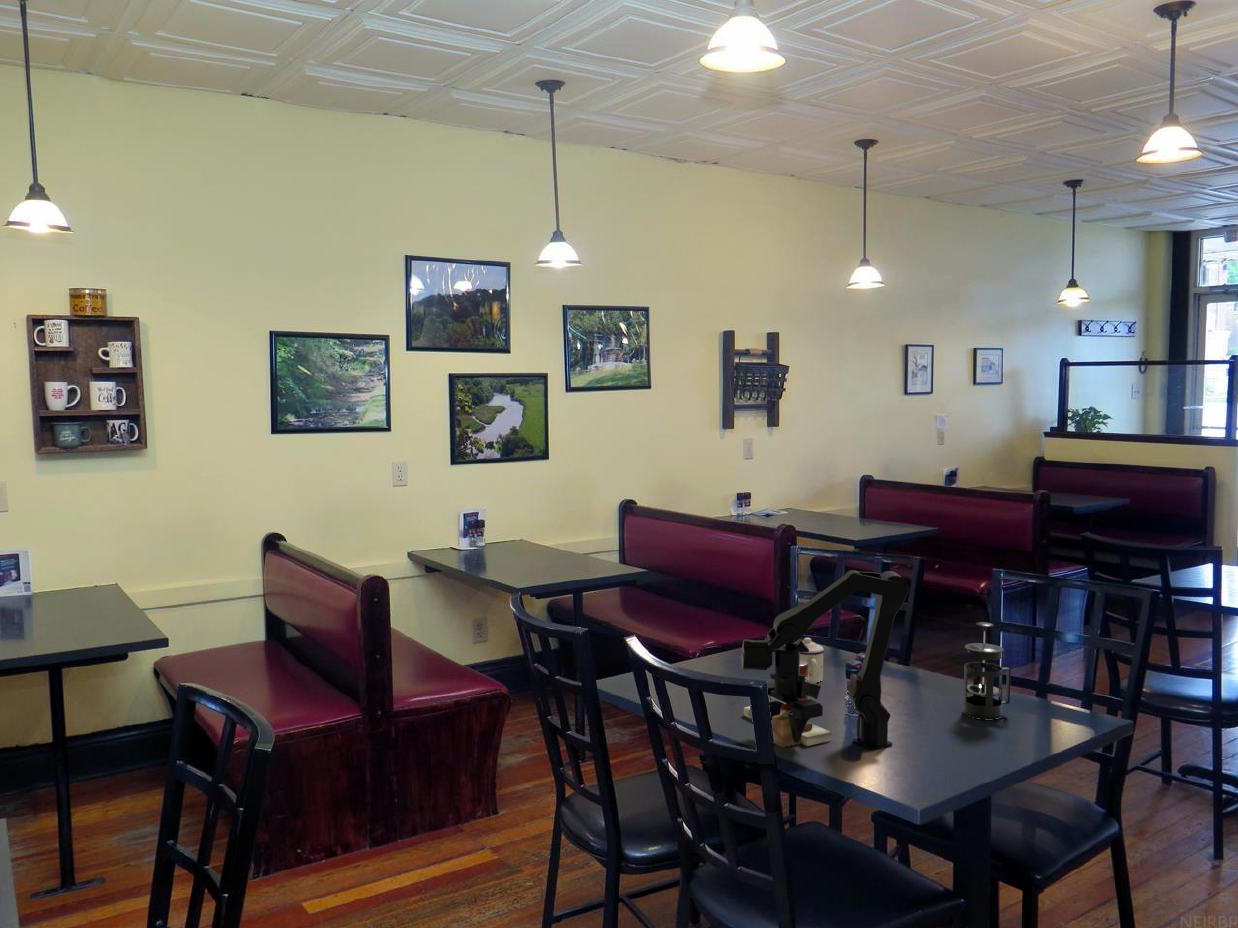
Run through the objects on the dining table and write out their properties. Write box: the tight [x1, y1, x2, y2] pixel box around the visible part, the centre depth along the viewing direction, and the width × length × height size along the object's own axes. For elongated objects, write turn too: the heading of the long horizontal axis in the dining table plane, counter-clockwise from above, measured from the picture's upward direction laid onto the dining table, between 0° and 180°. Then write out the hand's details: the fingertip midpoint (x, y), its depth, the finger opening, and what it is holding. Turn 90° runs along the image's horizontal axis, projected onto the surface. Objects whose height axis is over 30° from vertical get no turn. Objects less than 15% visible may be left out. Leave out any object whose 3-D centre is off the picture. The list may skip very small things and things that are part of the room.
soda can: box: [781, 660, 809, 713], centre depth 243 cm, size 7×7×12 cm
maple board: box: [743, 705, 832, 747], centre depth 230 cm, size 24×7×2 cm, turn 29°
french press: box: [961, 621, 1012, 719], centre depth 239 cm, size 12×9×23 cm
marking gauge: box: [772, 711, 813, 748], centre depth 221 cm, size 4×10×7 cm, turn 119°
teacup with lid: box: [800, 637, 825, 684], centre depth 267 cm, size 12×9×12 cm
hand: (786, 737), depth 220 cm, fingers open, 7 cm apart
